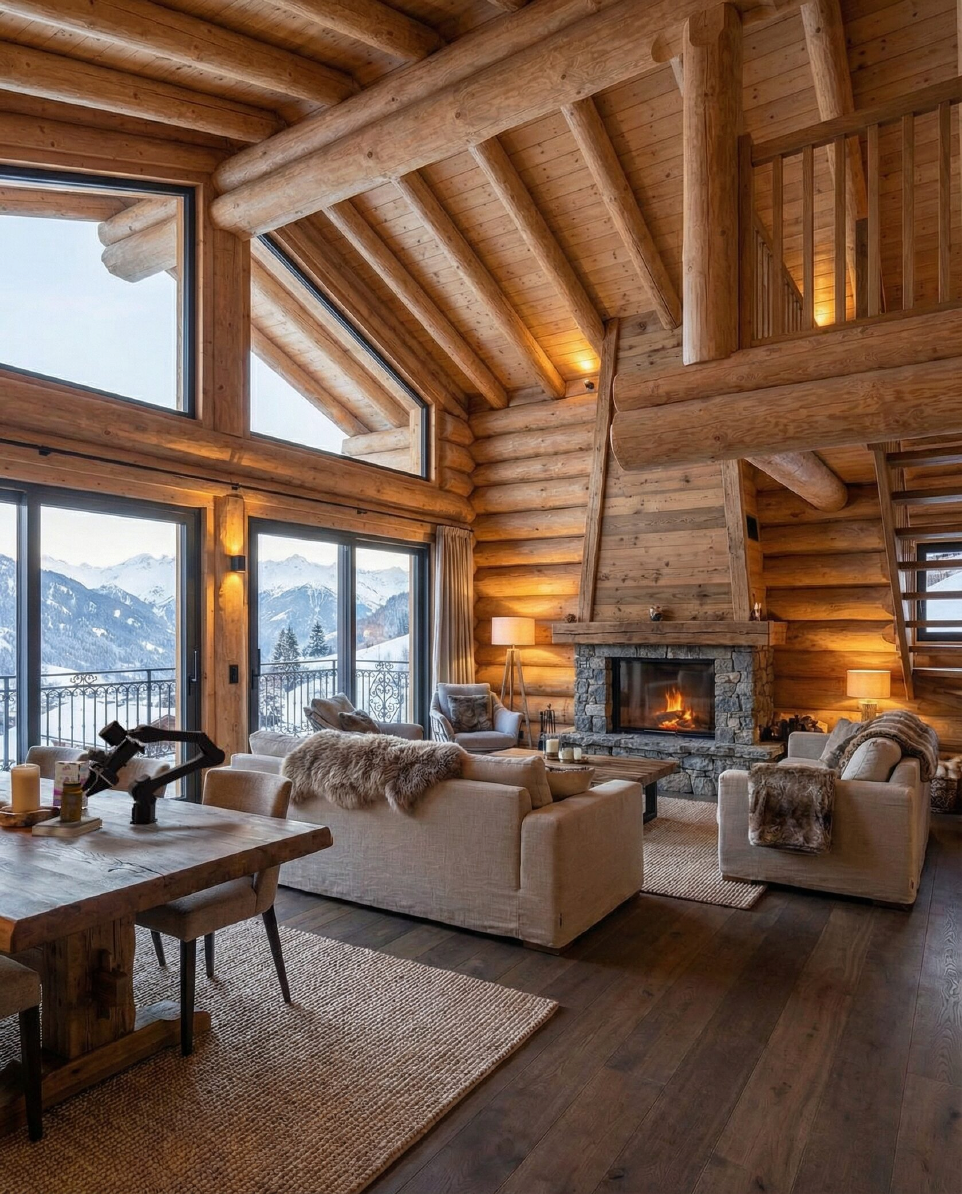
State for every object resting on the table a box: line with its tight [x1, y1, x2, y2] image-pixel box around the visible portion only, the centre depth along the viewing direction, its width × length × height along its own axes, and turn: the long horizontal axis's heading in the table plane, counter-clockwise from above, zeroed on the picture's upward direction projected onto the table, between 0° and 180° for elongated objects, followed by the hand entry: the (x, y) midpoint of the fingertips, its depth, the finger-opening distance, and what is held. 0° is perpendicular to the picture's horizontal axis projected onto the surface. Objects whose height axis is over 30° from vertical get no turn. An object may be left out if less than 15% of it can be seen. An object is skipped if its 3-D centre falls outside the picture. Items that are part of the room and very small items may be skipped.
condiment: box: [53, 781, 87, 824], centre depth 255 cm, size 7×8×12 cm
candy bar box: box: [52, 760, 90, 807], centre depth 287 cm, size 11×5×16 cm, turn 73°
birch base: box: [31, 816, 103, 838], centre depth 255 cm, size 14×14×3 cm
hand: (83, 794), depth 258 cm, fingers open, 9 cm apart
